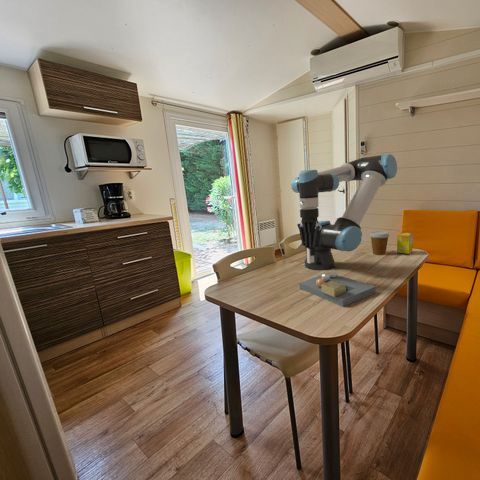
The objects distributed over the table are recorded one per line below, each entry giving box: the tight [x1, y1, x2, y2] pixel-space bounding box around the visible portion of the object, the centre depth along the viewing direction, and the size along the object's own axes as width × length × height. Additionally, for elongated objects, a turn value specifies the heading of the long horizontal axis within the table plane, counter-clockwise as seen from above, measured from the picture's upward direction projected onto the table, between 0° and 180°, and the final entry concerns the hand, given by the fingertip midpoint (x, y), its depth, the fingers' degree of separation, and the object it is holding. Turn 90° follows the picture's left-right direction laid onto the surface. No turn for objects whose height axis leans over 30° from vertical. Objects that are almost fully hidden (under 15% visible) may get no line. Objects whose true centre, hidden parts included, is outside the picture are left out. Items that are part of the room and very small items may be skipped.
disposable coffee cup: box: [369, 230, 390, 256], centre depth 147 cm, size 10×10×12 cm
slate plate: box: [298, 272, 376, 307], centre depth 105 cm, size 22×18×2 cm
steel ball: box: [320, 272, 330, 281], centre depth 108 cm, size 3×3×3 cm
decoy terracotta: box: [316, 279, 325, 287], centre depth 103 cm, size 3×3×3 cm
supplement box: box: [396, 232, 414, 256], centre depth 143 cm, size 6×6×11 cm
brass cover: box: [321, 280, 346, 297], centre depth 97 cm, size 6×6×3 cm
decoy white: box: [328, 269, 338, 278], centre depth 112 cm, size 3×3×3 cm
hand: (310, 262), depth 114 cm, fingers closed
